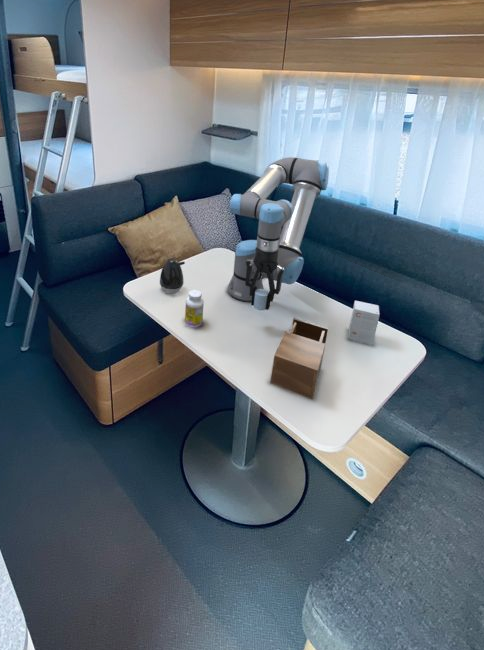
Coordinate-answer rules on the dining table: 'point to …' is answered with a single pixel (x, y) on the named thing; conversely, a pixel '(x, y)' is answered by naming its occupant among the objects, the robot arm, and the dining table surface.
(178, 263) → the pump dispenser
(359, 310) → the small box
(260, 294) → the light blue cylinder
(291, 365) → the wooden block
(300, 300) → the dining table surface
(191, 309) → the supplement bottle
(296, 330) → the drawer
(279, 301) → the dining table surface
